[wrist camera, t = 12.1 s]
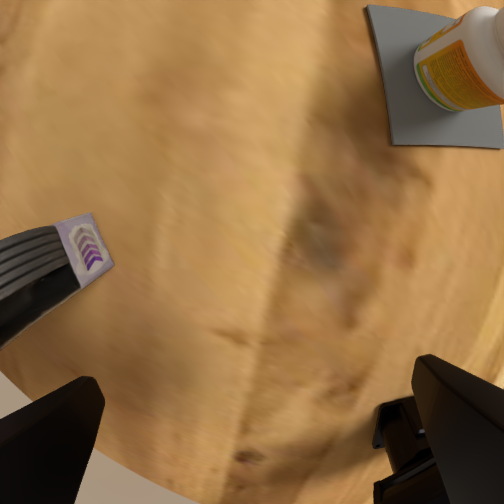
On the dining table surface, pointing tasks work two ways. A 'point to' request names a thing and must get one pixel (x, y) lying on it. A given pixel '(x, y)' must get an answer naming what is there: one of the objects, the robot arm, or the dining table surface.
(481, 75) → the supplement bottle
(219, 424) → the dining table surface
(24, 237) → the cake pan box
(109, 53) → the dining table surface
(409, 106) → the slate mat
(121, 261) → the dining table surface
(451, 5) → the dining table surface
